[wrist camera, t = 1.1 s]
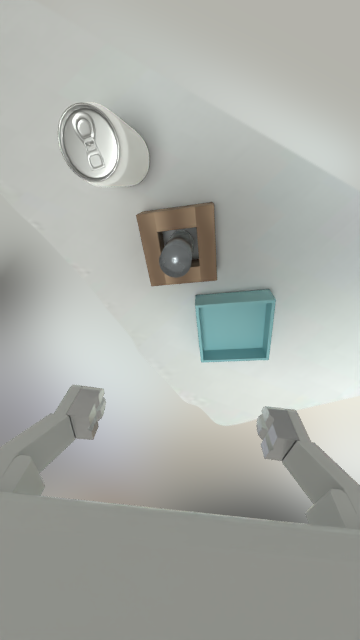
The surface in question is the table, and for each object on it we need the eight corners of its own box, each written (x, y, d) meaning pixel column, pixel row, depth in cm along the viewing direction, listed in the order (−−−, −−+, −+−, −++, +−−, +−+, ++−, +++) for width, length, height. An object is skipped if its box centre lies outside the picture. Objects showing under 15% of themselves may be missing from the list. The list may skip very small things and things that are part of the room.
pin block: (212, 201, 31) (213, 204, 28) (215, 271, 37) (216, 280, 34) (142, 211, 33) (136, 214, 30) (155, 277, 38) (151, 286, 35)
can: (141, 120, 27) (107, 82, 17) (156, 179, 31) (134, 177, 20) (95, 135, 28) (38, 109, 18) (114, 191, 32) (74, 194, 22)
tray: (269, 289, 38) (275, 299, 35) (263, 346, 45) (268, 359, 41) (195, 295, 40) (195, 305, 36) (201, 349, 47) (201, 362, 43)
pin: (192, 228, 34) (189, 243, 25) (194, 254, 36) (192, 276, 27) (167, 231, 34) (156, 247, 26) (171, 256, 36) (162, 279, 28)
